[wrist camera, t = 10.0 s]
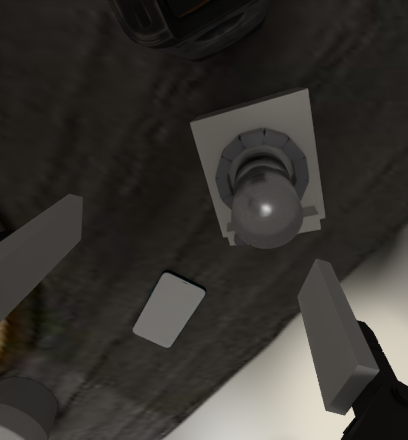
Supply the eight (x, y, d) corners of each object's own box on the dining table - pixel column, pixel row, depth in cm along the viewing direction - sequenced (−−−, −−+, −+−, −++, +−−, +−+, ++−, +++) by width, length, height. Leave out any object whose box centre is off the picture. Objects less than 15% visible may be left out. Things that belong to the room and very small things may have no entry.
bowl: (-18, 359, 64) (-65, 409, 54) (68, 381, 63) (37, 436, 54) (-7, 411, 72) (-46, 463, 63) (69, 431, 72) (41, 486, 62)
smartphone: (170, 345, 56) (209, 287, 48) (169, 350, 55) (208, 291, 47) (131, 328, 55) (164, 266, 48) (129, 332, 54) (163, 269, 47)
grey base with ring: (198, 116, 37) (184, 127, 28) (298, 86, 34) (314, 89, 26) (226, 216, 42) (221, 250, 34) (314, 198, 39) (332, 230, 31)
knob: (230, 187, 34) (222, 238, 23) (244, 141, 31) (242, 174, 21) (275, 200, 34) (288, 257, 23) (292, 155, 31) (316, 195, 21)
